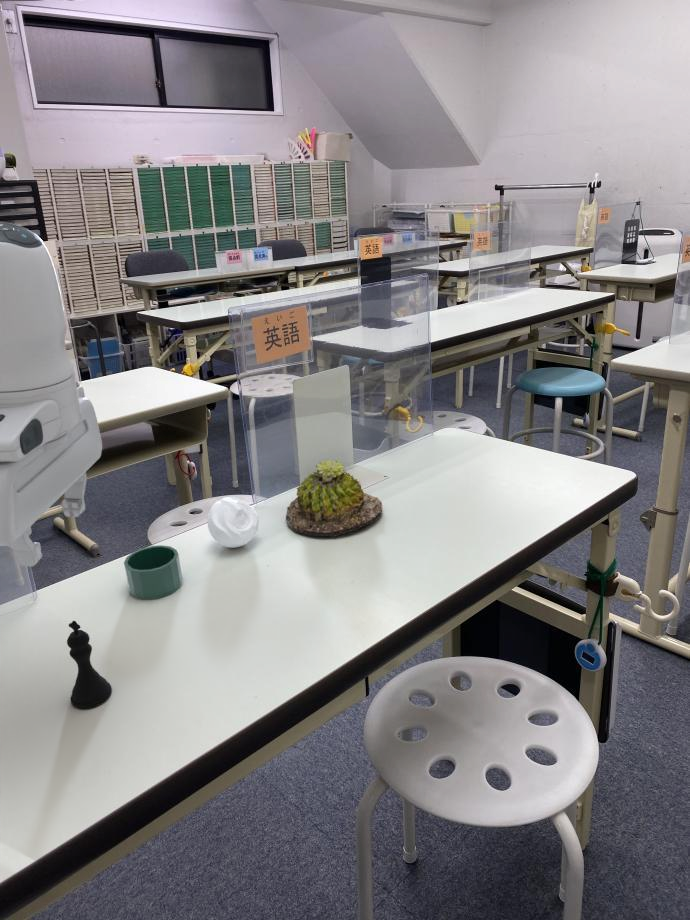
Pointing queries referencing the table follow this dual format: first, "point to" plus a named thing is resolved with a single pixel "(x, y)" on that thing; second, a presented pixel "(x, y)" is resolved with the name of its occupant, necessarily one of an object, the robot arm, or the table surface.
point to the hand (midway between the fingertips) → (54, 536)
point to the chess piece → (86, 673)
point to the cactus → (331, 503)
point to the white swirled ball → (232, 522)
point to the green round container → (153, 572)
